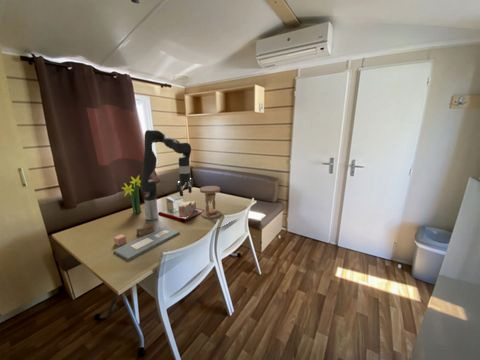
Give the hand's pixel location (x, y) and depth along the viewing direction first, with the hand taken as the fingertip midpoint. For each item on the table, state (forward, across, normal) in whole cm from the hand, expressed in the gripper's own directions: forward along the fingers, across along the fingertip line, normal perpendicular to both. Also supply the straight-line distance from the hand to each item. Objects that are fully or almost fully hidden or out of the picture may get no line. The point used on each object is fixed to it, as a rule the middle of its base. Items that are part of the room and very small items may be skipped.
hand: (185, 194), depth 144 cm
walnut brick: (+29, +16, -27) cm, 43 cm away
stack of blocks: (+30, -24, -21) cm, 44 cm away
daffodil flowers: (+30, -4, -65) cm, 71 cm away
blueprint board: (+29, +24, -13) cm, 39 cm away
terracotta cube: (+29, +34, -28) cm, 53 cm away
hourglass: (+29, -33, -3) cm, 44 cm away
